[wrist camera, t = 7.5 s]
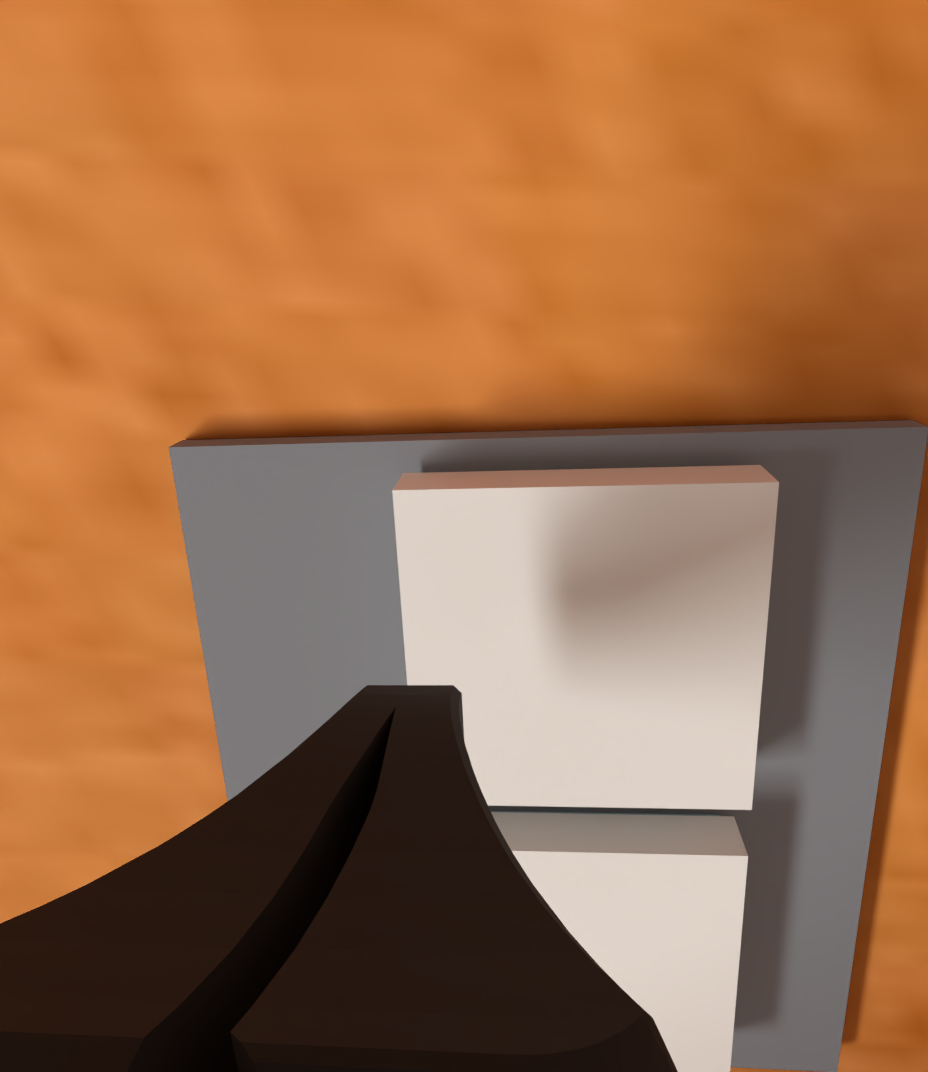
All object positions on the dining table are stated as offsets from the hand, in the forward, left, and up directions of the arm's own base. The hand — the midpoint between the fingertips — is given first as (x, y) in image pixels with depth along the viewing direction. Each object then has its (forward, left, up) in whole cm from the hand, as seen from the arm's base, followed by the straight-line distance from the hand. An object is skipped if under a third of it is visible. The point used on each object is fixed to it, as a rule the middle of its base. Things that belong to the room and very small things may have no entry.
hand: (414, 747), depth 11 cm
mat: (-4, -2, -5) cm, 6 cm away
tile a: (-7, +1, -3) cm, 8 cm away
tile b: (0, +1, -3) cm, 3 cm away
